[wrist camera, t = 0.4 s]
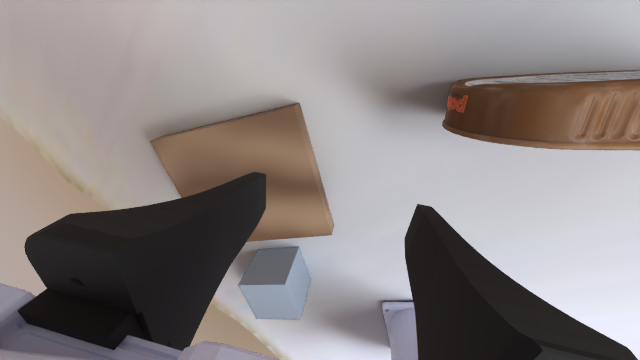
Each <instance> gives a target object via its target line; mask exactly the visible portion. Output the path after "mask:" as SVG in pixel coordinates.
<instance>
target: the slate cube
mask: <svg viewBox="0 0 640 360" xmlns="http://www.w3.org/2000/svg"><path fill="white" fill-rule="evenodd" d="M310 282H311V277H310V275H309V272H308V269H307V267H306V264H305V261H304V259H303V256H302V253H301V251H300V248H299V247H289V248H273V249H258V251H257V253H256V255H255V256H254V258H253V260H252V262H251V263H250V265H249V267H248V269H247V270H246V272H245V274H244V276H243V277H242V279H241V281H240V283H239V284H238V287H239V288H240V290H241V292H242V294H243V296H244V297H245V299H246V301H247V303H248V305H249V306H250V308H251V310H252V312H253V314H254V315H255V317H256V319H291V320H300V319H301V316H302V312H303V308H304V305H305V301H306V297H307V293H308V290H309V286H310Z"/></svg>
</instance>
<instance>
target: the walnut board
mask: <svg viewBox="0 0 640 360" xmlns="http://www.w3.org/2000/svg"><path fill="white" fill-rule="evenodd" d="M150 143H151V144H152V146H153V148H154V150H155V151H156V153H157V155H158V157H159V158H160V160H161V162H162V164H163V165H164V167H165V169H166V171H167V172H168V174H169V176H170V178H171V179H172V181H173V183H174V185H175V186H176V188H177V190H178V192H179V193H180V195H181V197H182V198H183V197H187V196H190V195H194V194H197V193H200V192H203V191H206V190H208V189H211V188H214V187H216V186H219V185H222V184H224V183H227V182H229V181H232V180H234V179H236V178H239V177H241V176H244V175H246V174H249V173H252V172H259V173H264V174H266V209H265V212H264V214H263V216H262V218H261V220H260V222H259V224H258V225H257V227H256V228H255V230H254V231H253V233H252V234H251V236H250V237H249V239H248V240H247V241H246V242H248V241H261V240H274V239H287V238H300V237H313V236H326V235H332V232H333V227H334V223H333V220H332V216H331V213H330V209H329V206H328V202H327V199H326V195H325V191H324V188H323V184H322V181H321V177H320V174H319V170H318V167H317V163H316V159H315V156H314V152H313V149H312V145H311V142H310V138H309V135H308V131H307V127H306V124H305V120H304V117H303V113H302V110H301V106H300V103H297V104H293V105H289V106H285V107H281V108H277V109H273V110H268V111H264V112H260V113H256V114H252V115H248V116H244V117H240V118H235V119H231V120H227V121H223V122H219V123H215V124H211V125H207V126H202V127H198V128H194V129H190V130H186V131H182V132H178V133H174V134H169V135H165V136H162V137H159V138H157V139H155V140H152V141H150Z"/></svg>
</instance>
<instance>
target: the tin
mask: <svg viewBox="0 0 640 360" xmlns="http://www.w3.org/2000/svg"><path fill="white" fill-rule="evenodd" d="M442 125H443V127H444V128H445V129H446V130H448V131H450V132H452V133H455V134H458V135H461V136H464V137H469V138H472V139H477V140H481V141H486V142H492V143H499V144H507V145H515V146H524V147H534V148H548V149H562V150H563V149H570V150H640V70H631V71H602V72H572V73H550V74H531V75H515V76H499V77H484V78H472V79H464V80H459V81H456V82H455V83H453V84H452V86H451V88H450V92H449V96H448V102H447V110H446V116H445V120H444V121H443V123H442Z"/></svg>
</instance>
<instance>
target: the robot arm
mask: <svg viewBox="0 0 640 360" xmlns="http://www.w3.org/2000/svg"><path fill="white" fill-rule="evenodd" d="M265 209H266V174H264V173H259V172H252V173H249V174H246V175H244V176H241V177H239V178H236V179H234V180H232V181H229V182H227V183H224V184H222V185H219V186H216V187H214V188H211V189H208V190H206V191H203V192H200V193H197V194H194V195H190V196H187V197H183V198H180V199H176V200H172V201H167V202H162V203H157V204H153V205H148V206H142V207H135V208H128V209H121V210H112V211H102V212H89V213H76V214H69V215H67V216H65V217H63V218H61V219H60V220H58V221H56V222H54V223H52V224H50V225H48V226H47V227H45V228H43V229H41V230H39V231H38V232H35V233H34V234H32V235H30V236H29V237H28V238H27V240H26V243H25V252H26V255H27V257H28V259H29V261H30V263H31V264H32V266H33V267H34V269H35V270H36V272H37V274H38V275H39V277H40V278H41V280H42V281H43V283H44V284H45V286H46V287H47V289H46V290H45V291H43V292H42V293H41V294H39V295H38V296H36V297H35V296H34V295H33V294H31V293H30V292H28V291H25V290H22V289H19V288H16V287H12V286H8V285H5V284H2V283H0V360H279V359H276V358H272V357H269V356H265V355H262V354H258V353H254V352H251V351H248V350H244V349H241V348H237V347H234V346H230V345H227V344H222V343H215V342H207V341H203V342H201V343H198V344H195V345H192V346H190V344H191V342H192V340H193V337H194V335H195V333H196V330H197V329H198V326H199V325H200V322H201V320H202V318H203V316H204V314H205V312H206V310H207V308H208V306H209V304H210V302H211V300H212V298H213V296H214V294H215V292H216V290H217V288H218V287H219V285H220V283H221V281H222V279H223V277H224V276H225V274H226V272H227V270H228V268H229V267H230V265H231V263H232V262H233V260H234V259H235V257H236V256H237V254H238V253H239V252H240V250H241V249H242V247H243V246H244V244H245V243H246V241H247V240H248V239H249V237H250V236H251V234H252V233H253V231H254V230H255V228H256V227H257V225H258V224H259V222H260V220H261V218H262V216H263V214H264V212H265ZM405 259H406V265H407V270H408V276H409V281H410V286H411V292H412V297H413V302H384V303H382V310H383V314H384V319H385V324H386V328H387V333H388V337H389V342H390V347H391V360H638V359H637V358H636V357H635V356H634V354H633V353H632V352H631V351H630V350H629V349H628V348H627V347H625V346H623V345H622V344H620V343H618V342H616V341H614V340H612V339H610V338H609V337H607V336H605V335H603V334H601V333H599V332H597V331H596V330H594V329H592V328H590V327H588V326H586V325H584V324H583V323H581V322H579V321H577V320H575V319H574V318H572V317H570V316H569V315H567V314H565V313H564V312H562V311H560V310H559V309H557V308H555V307H554V306H552V305H550V304H549V303H547V302H546V301H544V300H542V299H541V298H539V297H538V296H536V295H535V294H533V293H532V292H530V291H529V290H527V289H526V288H524V287H523V286H521V285H520V284H518V283H517V282H515V281H514V280H513V279H511V278H510V277H509V276H507V275H506V274H504V273H503V272H502V271H501V270H499V269H498V268H497V267H495V266H494V265H493V264H492V263H490V262H489V261H488V260H487V259H485V258H484V257H483V256H482V255H481V254H480V253H479V252H477V251H476V250H475V249H474V248H473V247H472V246H471V245H470V244H468V243H467V242H466V241H465V240H464V239H463V238H462V237H461V236H460V235H459V234H458V233H457V232H456V231H455V230H454V229H453V228H452V227H451V226H450V225H449V224H448V223H447V222H446V221H445V220H444V219H443V218H442V217H441V216H440V215H439V214H438V213H437V212H436V211H435V210H434V209H433V208H432V207H429V206H424V205H419V204H417V207H416V209H415V212H414V215H413V217H412V220H411V223H410V225H409V228H408V231H407V233H406V236H405Z"/></svg>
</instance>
